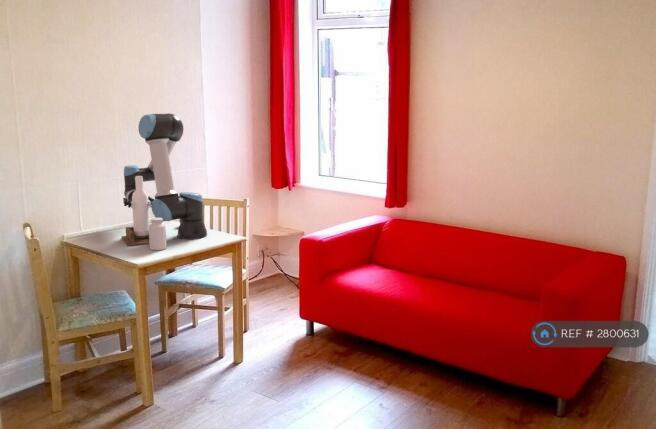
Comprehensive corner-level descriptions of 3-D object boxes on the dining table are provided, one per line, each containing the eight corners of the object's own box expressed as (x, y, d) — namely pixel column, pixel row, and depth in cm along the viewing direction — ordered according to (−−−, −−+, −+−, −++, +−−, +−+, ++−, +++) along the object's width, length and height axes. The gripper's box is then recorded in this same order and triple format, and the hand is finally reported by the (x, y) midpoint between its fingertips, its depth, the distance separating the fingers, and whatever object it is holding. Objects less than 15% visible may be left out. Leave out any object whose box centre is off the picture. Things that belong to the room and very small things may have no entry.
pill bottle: (169, 247, 299) (168, 217, 296) (161, 251, 292) (160, 220, 288) (154, 245, 301) (153, 216, 298) (146, 250, 293) (145, 219, 290)
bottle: (152, 232, 314) (149, 175, 307) (146, 236, 306) (143, 177, 300) (137, 232, 315) (134, 174, 308) (131, 235, 307) (127, 177, 301)
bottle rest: (164, 242, 307) (164, 230, 306) (127, 246, 299) (127, 234, 298) (156, 234, 323) (156, 223, 322) (121, 238, 315) (120, 226, 313)
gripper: (155, 202, 328) (163, 211, 308) (115, 205, 319) (120, 214, 299) (154, 189, 326) (162, 196, 306) (114, 191, 318) (119, 199, 298)
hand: (141, 205), depth 303 cm, fingers closed on bottle, 8 cm apart
